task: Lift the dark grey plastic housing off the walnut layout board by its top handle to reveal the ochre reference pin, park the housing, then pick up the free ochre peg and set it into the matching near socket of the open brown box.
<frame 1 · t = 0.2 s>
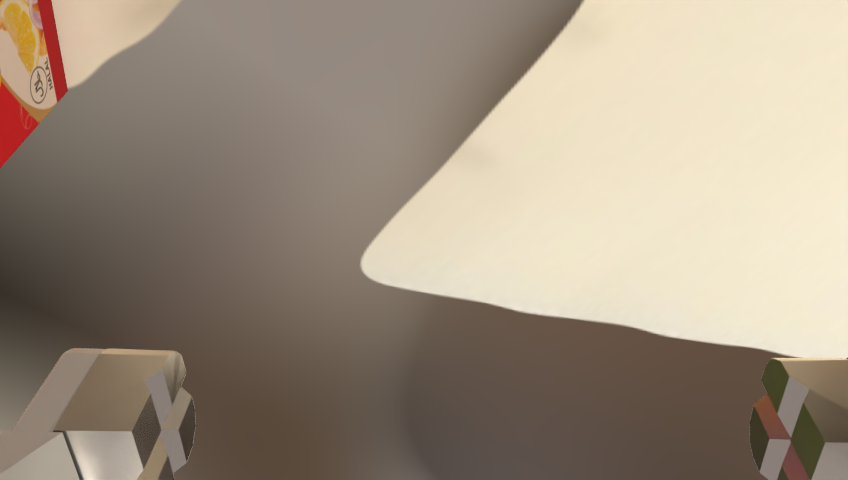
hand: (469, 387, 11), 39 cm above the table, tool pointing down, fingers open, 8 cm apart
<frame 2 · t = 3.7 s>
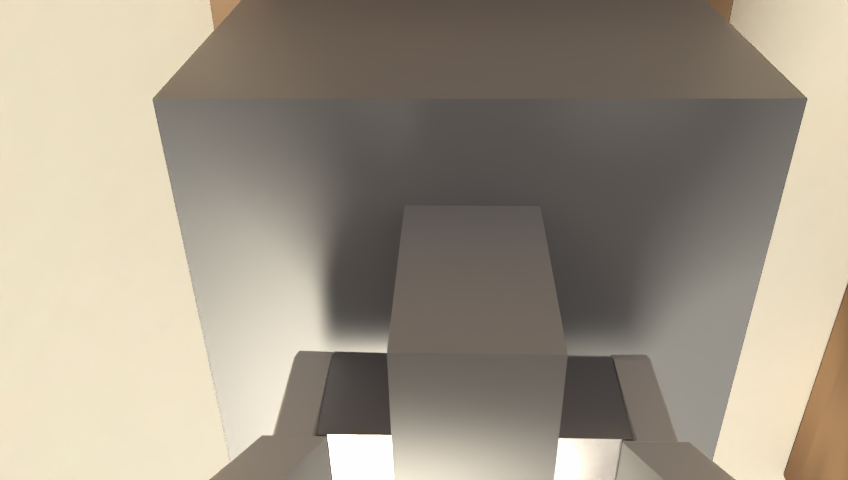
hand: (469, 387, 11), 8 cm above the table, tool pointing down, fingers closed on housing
housing: (465, 170, 17), point 1 cm above the table, touching gripper, layout board
layout board: (465, 150, 17), on the table
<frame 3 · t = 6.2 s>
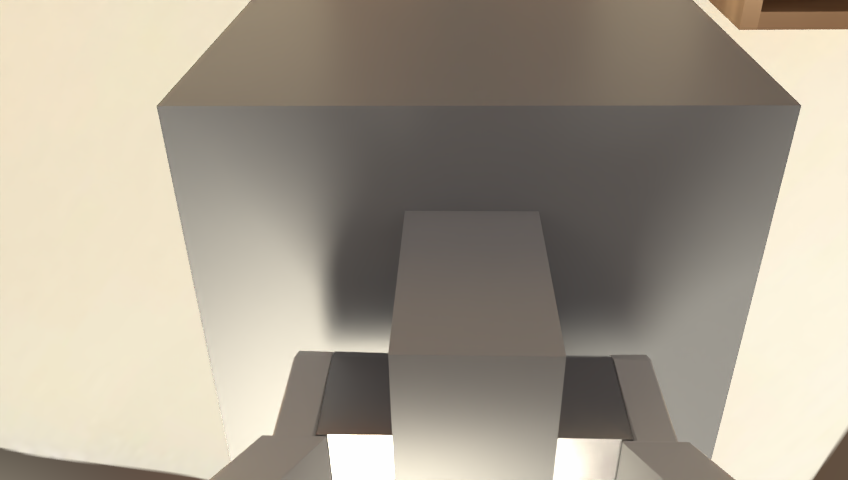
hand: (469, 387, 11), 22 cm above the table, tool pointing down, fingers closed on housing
housing: (464, 176, 17), point 15 cm above the table, touching gripper
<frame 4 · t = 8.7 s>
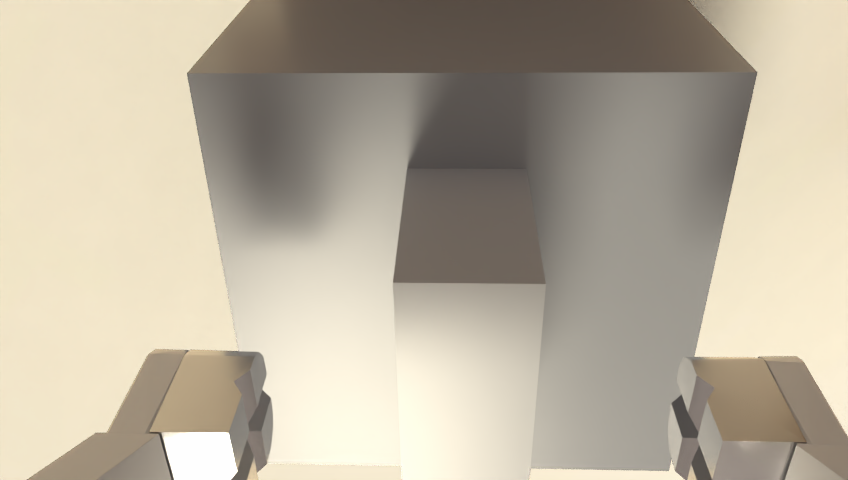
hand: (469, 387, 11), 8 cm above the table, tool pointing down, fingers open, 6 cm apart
housing: (462, 149, 18), on the table
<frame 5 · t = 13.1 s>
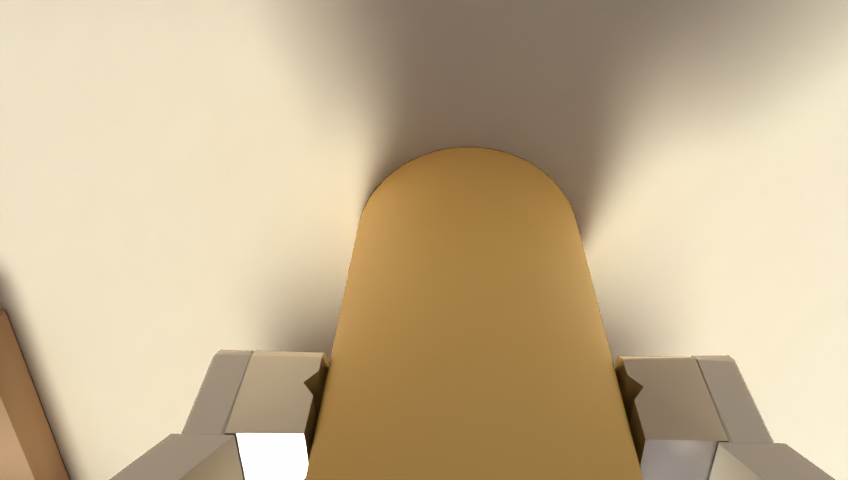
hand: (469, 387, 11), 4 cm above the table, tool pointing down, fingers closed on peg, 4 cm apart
peg: (467, 247, 14), on the table, touching gripper
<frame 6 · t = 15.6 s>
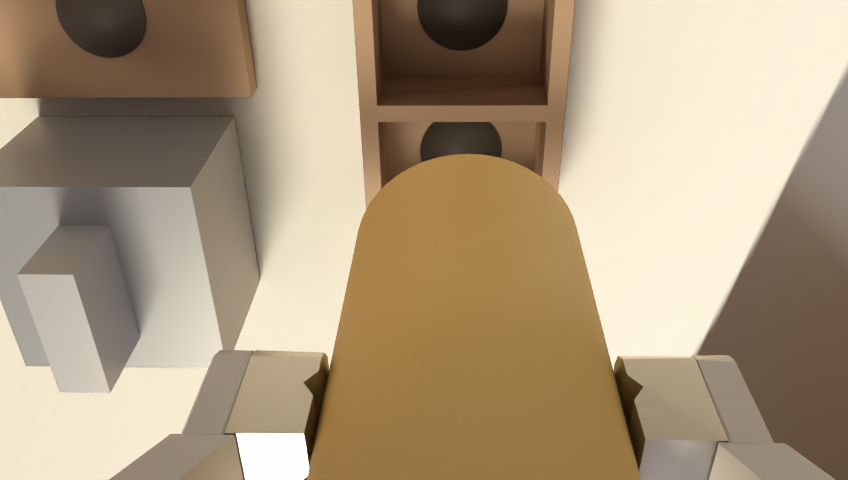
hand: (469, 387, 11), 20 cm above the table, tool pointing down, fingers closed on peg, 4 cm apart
housing: (155, 203, 33), on the table
open brown box: (461, 74, 30), on the table
peg: (466, 254, 14), point 17 cm above the table, touching gripper
when the fingers open (6 cm above the table, at t = 18.4 s): peg drops 2 cm, resting on open brown box.
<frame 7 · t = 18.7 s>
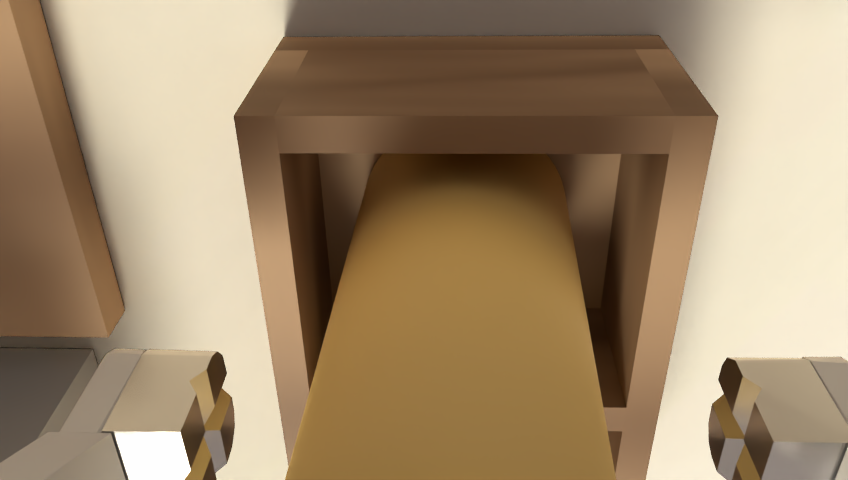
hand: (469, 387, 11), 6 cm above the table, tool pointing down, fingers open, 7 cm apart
open brown box: (465, 296, 18), on the table
peg: (464, 211, 15), point 1 cm above the table, touching open brown box
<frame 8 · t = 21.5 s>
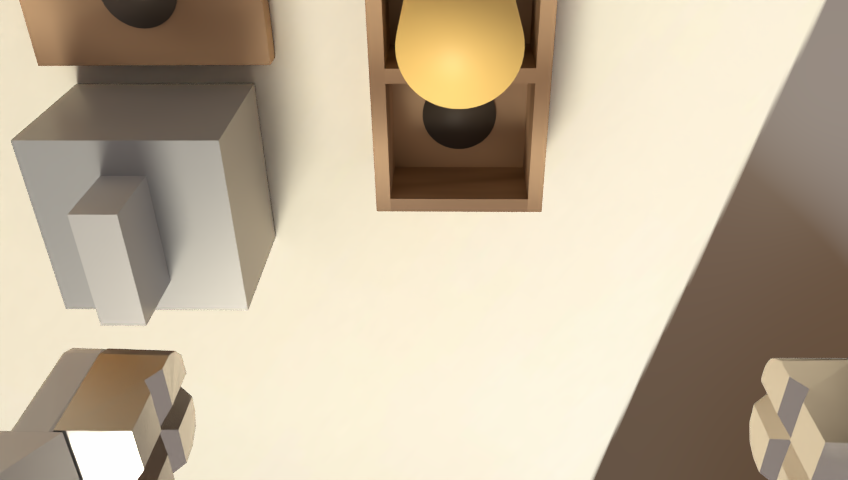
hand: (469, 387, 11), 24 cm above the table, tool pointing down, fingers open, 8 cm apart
housing: (181, 164, 36), on the table
open brown box: (459, 44, 33), on the table
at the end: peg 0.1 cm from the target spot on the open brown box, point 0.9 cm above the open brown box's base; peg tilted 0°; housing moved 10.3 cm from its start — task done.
